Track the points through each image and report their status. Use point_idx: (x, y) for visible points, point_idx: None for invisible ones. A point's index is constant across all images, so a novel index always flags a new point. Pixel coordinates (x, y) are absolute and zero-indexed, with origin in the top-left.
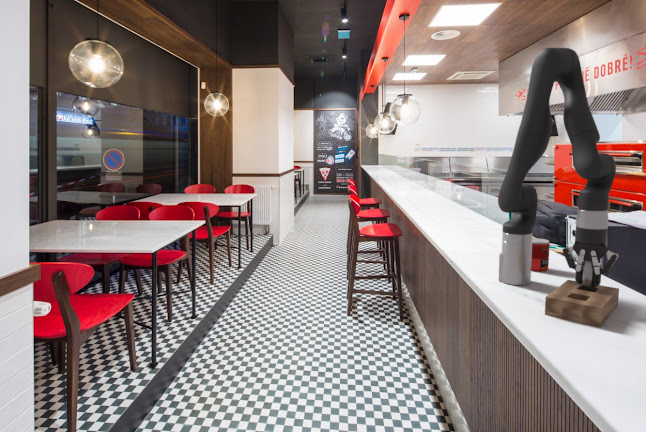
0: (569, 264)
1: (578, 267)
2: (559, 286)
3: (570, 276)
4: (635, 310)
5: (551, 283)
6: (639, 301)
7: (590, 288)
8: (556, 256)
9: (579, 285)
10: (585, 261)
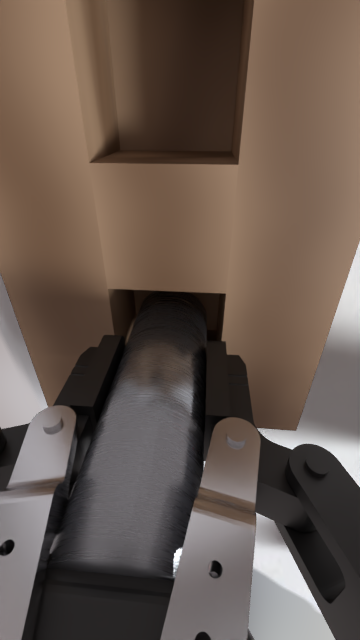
0: (341, 488)
1: (232, 459)
2: (343, 284)
3: None
4: (15, 334)
5: (350, 457)
6: None
7: (140, 321)
8: None
9: None
10: (143, 551)
